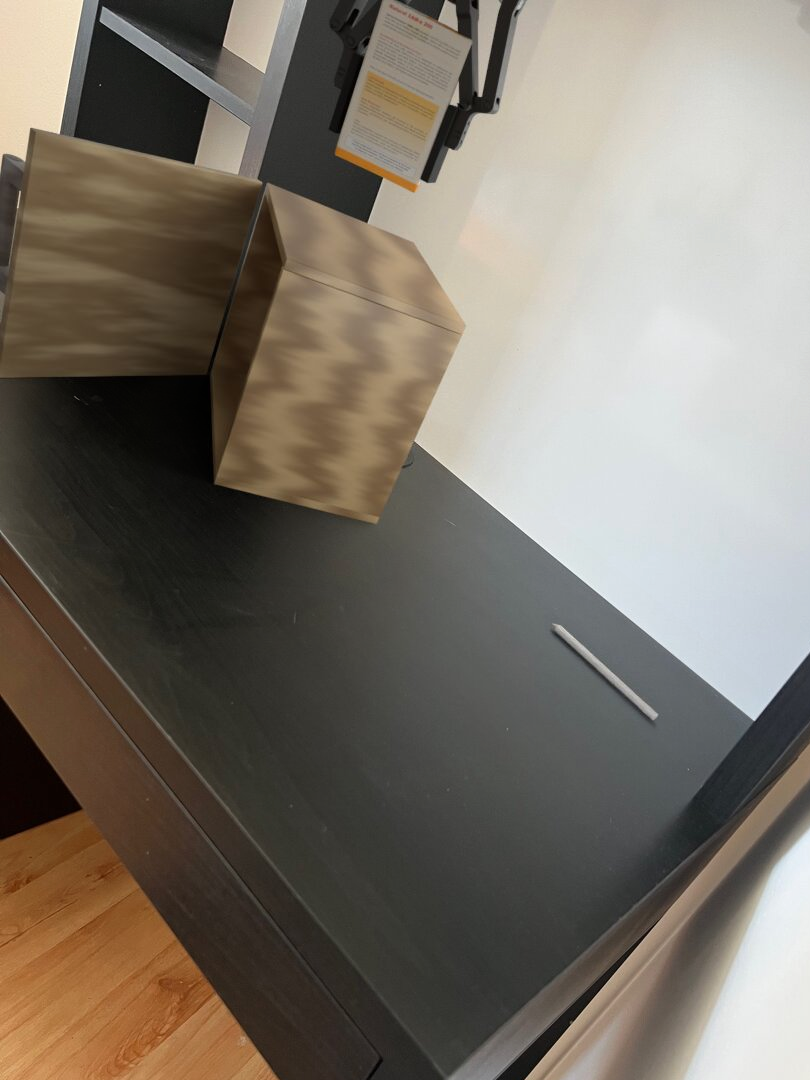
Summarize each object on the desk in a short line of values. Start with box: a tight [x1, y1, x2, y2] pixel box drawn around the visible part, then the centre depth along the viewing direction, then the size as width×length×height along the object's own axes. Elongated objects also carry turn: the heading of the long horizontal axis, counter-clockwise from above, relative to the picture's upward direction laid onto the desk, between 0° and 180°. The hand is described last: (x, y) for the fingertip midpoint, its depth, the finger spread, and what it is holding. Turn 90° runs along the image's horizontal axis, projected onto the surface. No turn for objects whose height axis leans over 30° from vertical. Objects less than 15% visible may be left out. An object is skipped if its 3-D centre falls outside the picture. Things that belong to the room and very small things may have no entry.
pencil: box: [552, 622, 659, 721], centre depth 89 cm, size 1×1×15 cm
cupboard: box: [209, 182, 467, 525], centre depth 94 cm, size 18×26×24 cm
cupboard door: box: [0, 127, 263, 379], centre depth 90 cm, size 8×26×24 cm, turn 141°
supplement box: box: [334, 0, 472, 194], centre depth 76 cm, size 8×5×13 cm, turn 87°
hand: (382, 156), depth 79 cm, fingers closed on supplement box, 9 cm apart
